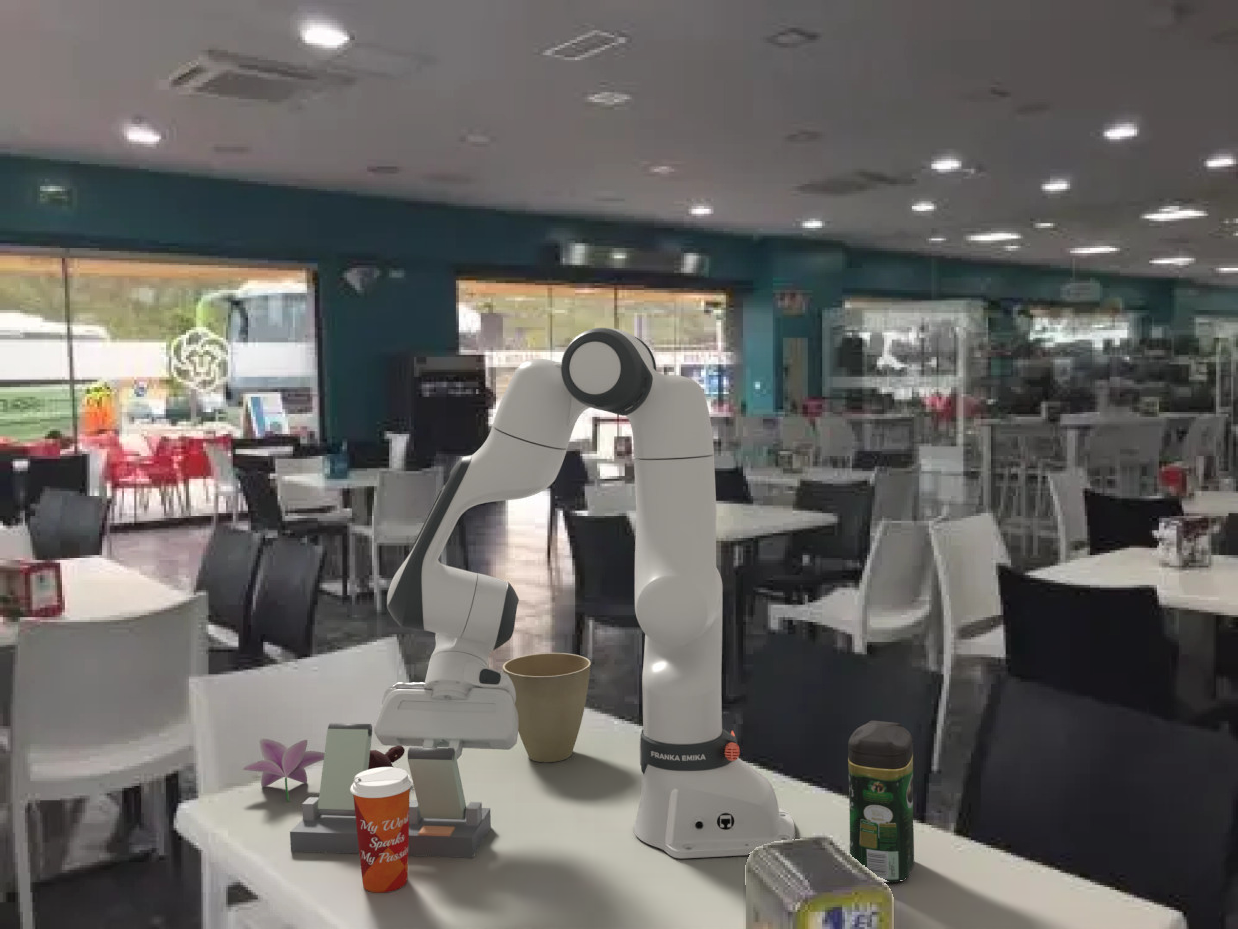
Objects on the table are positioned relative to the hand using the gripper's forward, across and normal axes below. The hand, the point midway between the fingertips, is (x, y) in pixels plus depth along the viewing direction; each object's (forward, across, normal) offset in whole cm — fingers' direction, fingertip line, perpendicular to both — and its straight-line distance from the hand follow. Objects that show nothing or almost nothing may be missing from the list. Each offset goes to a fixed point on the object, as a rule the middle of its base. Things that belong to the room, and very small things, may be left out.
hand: (437, 774), depth 147 cm
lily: (-4, -30, +19) cm, 36 cm away
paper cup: (+15, -3, -1) cm, 16 cm away
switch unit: (+6, -7, +8) cm, 12 cm away
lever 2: (+3, 0, +5) cm, 6 cm away
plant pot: (-18, +8, +33) cm, 39 cm away
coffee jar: (+8, +60, +5) cm, 60 cm away
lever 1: (+4, -15, +5) cm, 16 cm away
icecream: (-5, -17, +20) cm, 27 cm away
